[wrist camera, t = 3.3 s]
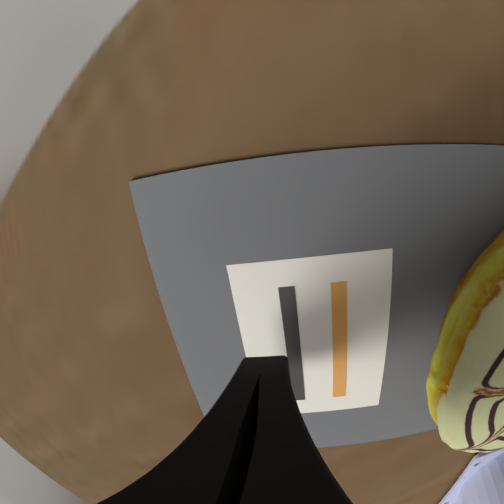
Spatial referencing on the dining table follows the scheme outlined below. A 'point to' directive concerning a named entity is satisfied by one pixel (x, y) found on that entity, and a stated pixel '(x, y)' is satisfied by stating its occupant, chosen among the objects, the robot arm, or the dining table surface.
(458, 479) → the robot arm
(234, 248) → the label mat
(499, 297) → the decorated donut
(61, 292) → the dining table surface
